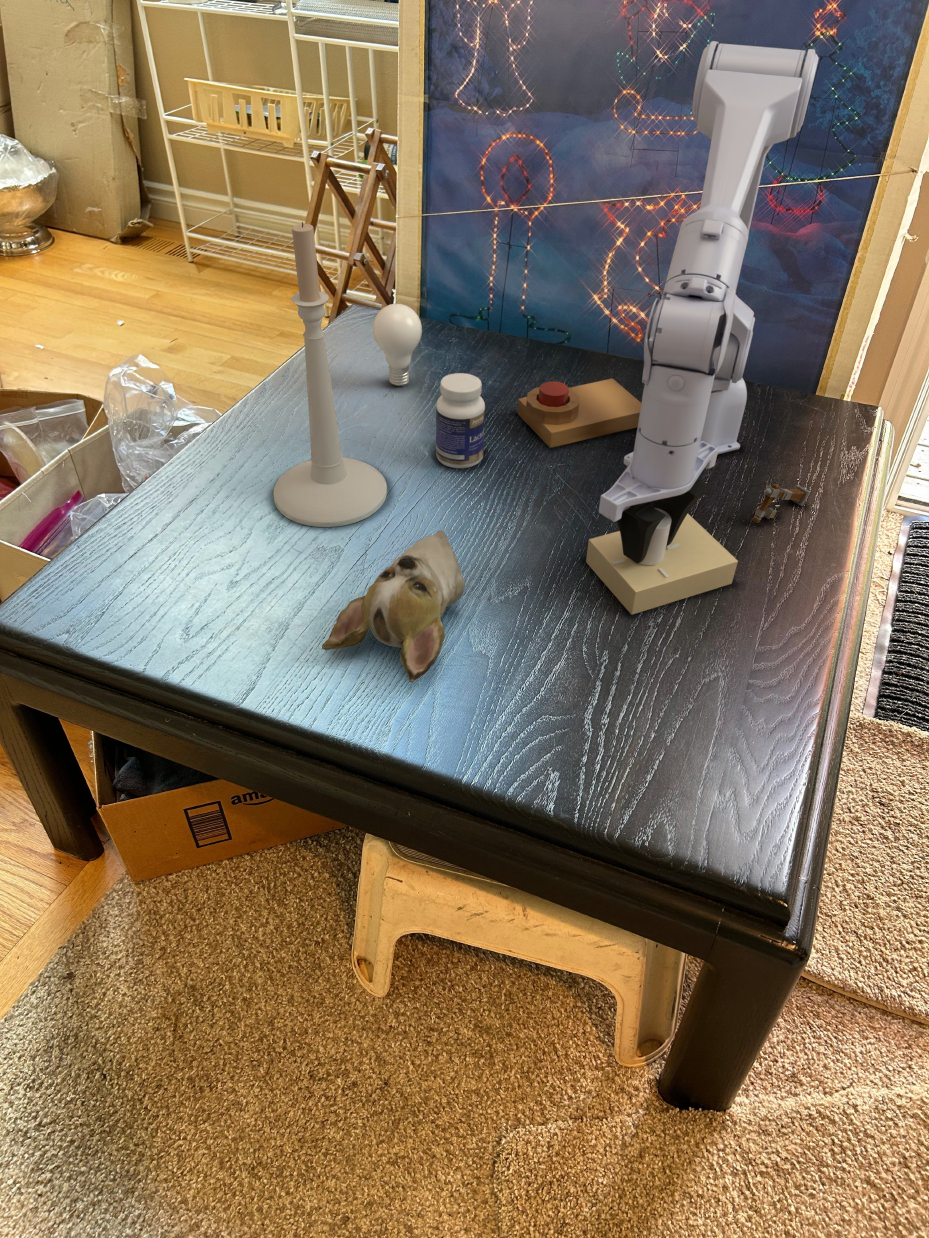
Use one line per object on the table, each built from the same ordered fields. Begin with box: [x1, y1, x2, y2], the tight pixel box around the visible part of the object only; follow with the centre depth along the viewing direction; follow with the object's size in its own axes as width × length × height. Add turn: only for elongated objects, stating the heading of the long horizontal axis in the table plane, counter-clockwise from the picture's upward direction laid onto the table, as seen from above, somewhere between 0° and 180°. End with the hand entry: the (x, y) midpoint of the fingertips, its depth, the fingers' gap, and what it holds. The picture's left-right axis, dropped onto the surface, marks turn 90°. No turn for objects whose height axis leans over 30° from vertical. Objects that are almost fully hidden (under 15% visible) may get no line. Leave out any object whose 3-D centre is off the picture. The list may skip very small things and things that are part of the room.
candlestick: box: [272, 221, 388, 528], centre depth 93 cm, size 13×13×30 cm
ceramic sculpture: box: [321, 529, 466, 683], centre depth 83 cm, size 11×9×15 cm
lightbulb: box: [372, 303, 423, 387], centre depth 118 cm, size 6×6×11 cm
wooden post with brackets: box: [752, 483, 811, 524], centre depth 100 cm, size 2×8×4 cm, turn 127°
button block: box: [517, 378, 642, 449], centre depth 114 cm, size 15×9×4 cm, turn 114°
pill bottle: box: [435, 372, 486, 469], centre depth 105 cm, size 6×6×10 cm
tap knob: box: [639, 508, 671, 566], centre depth 89 cm, size 4×4×5 cm
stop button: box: [539, 380, 570, 407], centre depth 111 cm, size 4×4×2 cm
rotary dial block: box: [585, 513, 739, 616], centre depth 92 cm, size 12×9×3 cm
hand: (647, 549), depth 90 cm, fingers closed on tap knob, 3 cm apart
